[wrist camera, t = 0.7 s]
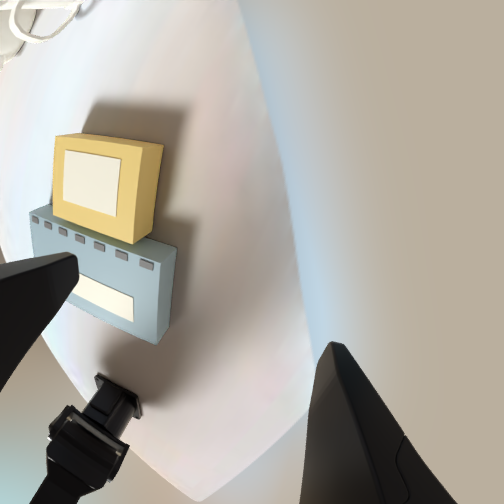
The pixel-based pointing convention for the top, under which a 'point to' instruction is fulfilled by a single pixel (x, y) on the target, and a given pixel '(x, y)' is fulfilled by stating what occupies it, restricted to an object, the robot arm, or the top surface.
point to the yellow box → (106, 184)
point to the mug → (4, 41)
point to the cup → (16, 3)
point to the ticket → (112, 274)
